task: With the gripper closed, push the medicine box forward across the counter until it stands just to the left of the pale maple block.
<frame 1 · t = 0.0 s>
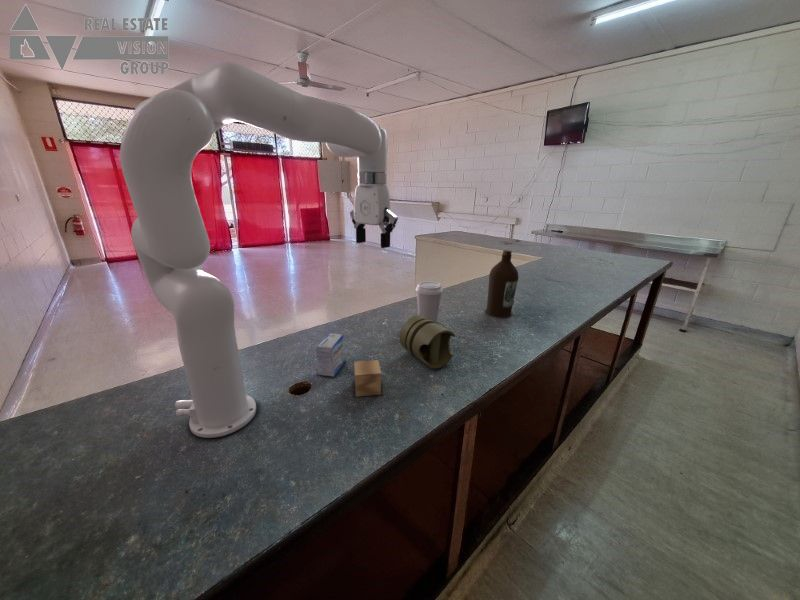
hand: (372, 244, 89), 31 cm above the counter, tool pointing down, fingers open, 9 cm apart
medicine box: (332, 368, 86), on the counter
coffee cup: (427, 324, 114), on the counter
maple block: (367, 388, 78), on the counter
piston: (426, 358, 92), on the counter
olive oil: (498, 313, 126), on the counter
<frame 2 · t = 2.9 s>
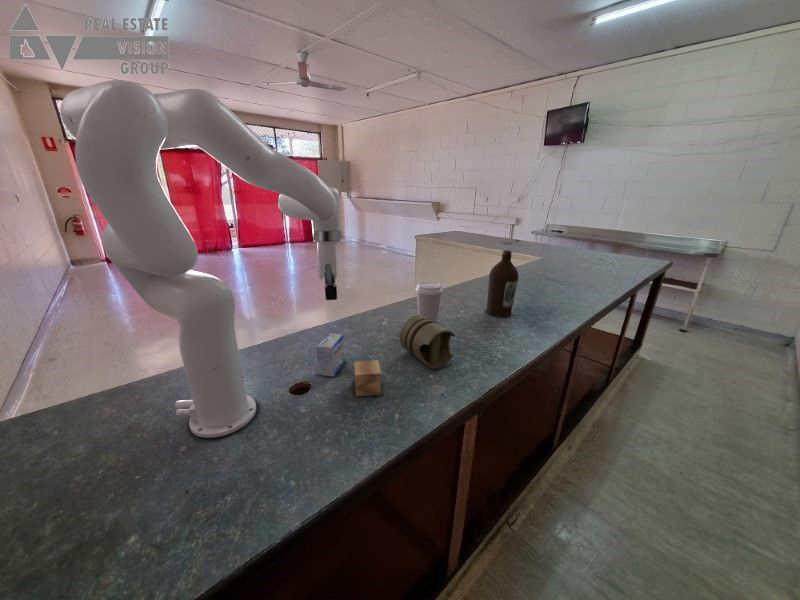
hand: (331, 298, 92), 16 cm above the counter, tool pointing down, fingers closed
nothing on the counter moved.
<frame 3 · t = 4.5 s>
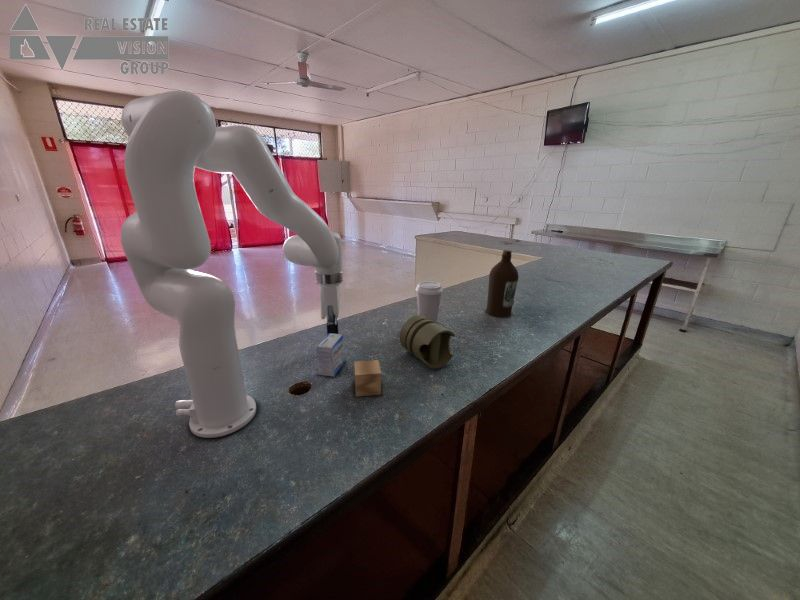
hand: (333, 335, 95), 4 cm above the counter, tool pointing down, fingers closed
nothing on the counter moved.
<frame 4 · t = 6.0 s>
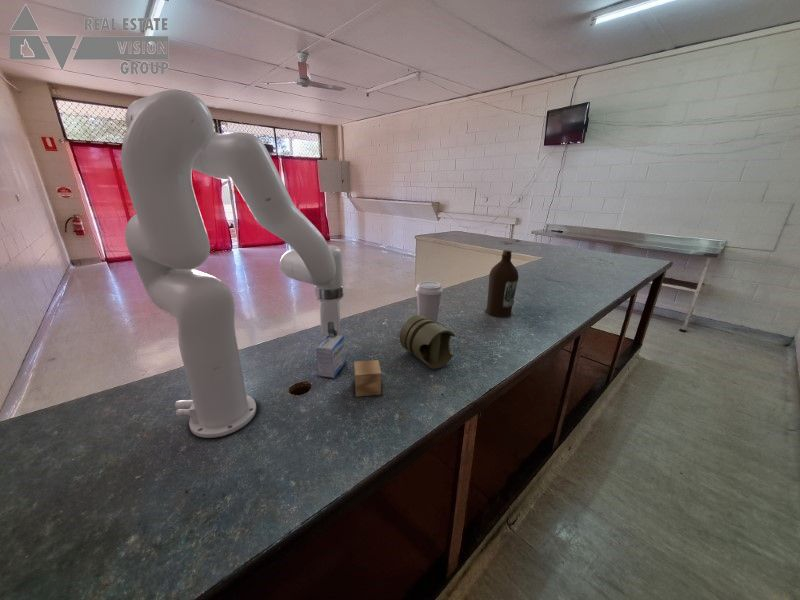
hand: (333, 350, 92), 1 cm above the counter, tool pointing down, fingers closed
medicine box: (332, 369, 86), on the counter, touching gripper
everything else where it was.
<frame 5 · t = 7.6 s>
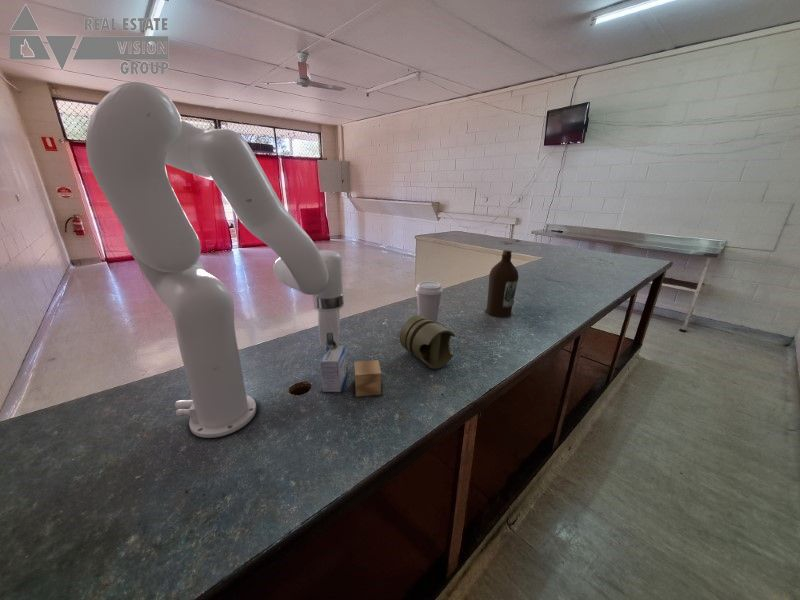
hand: (332, 362, 86), 1 cm above the counter, tool pointing down, fingers closed
medicine box: (334, 383, 80), on the counter, touching gripper
everything else where it was.
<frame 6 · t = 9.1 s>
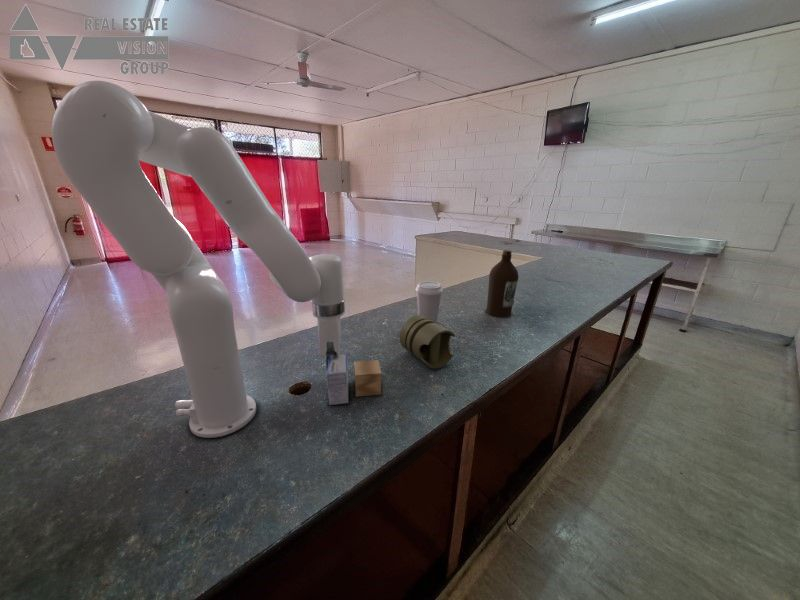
hand: (333, 372, 81), 2 cm above the counter, tool pointing down, fingers closed
medicine box: (339, 394, 76), on the counter, touching gripper
everything else where it was.
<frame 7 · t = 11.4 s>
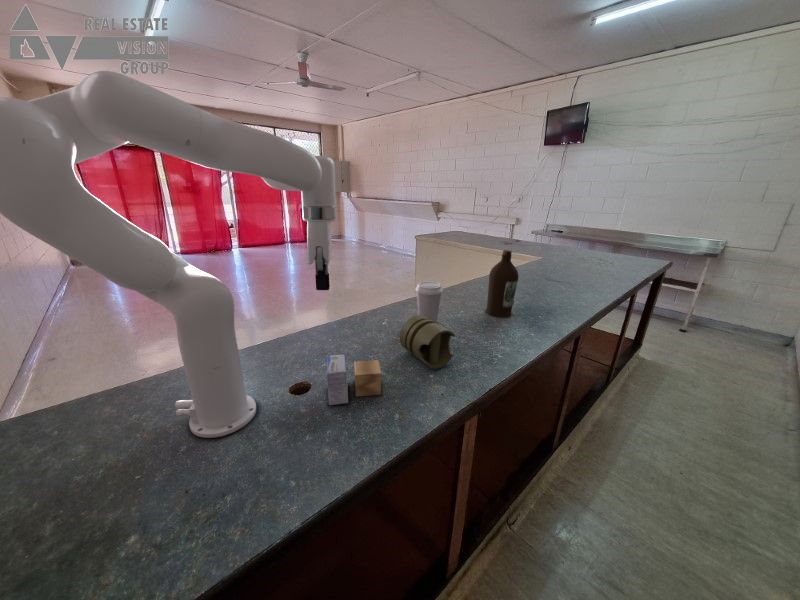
hand: (322, 289, 79), 22 cm above the counter, tool pointing down, fingers closed
medicine box: (338, 395, 76), on the counter
everything else where it was.
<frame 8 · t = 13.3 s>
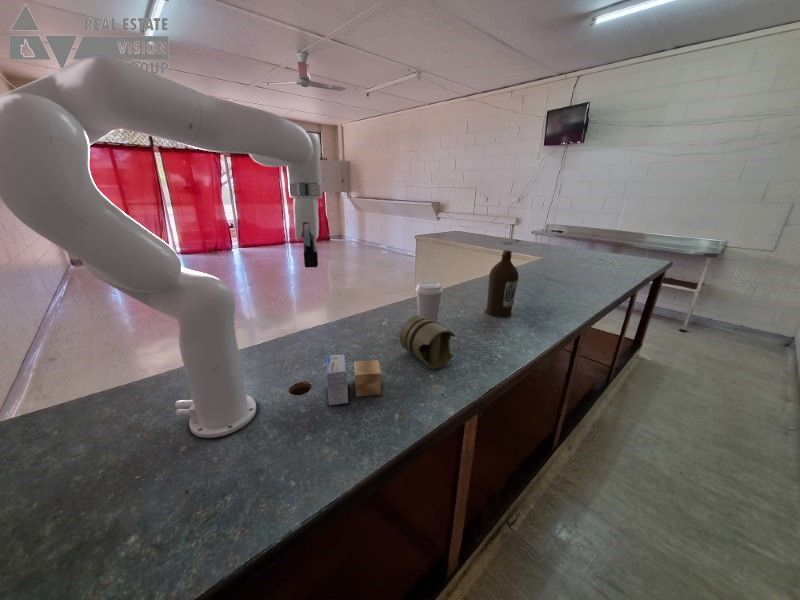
hand: (311, 266, 81), 27 cm above the counter, tool pointing down, fingers closed
nothing on the counter moved.
at the end: medicine box inside the target area on the counter beside the maple block (2.5 cm from its centre), on the counter; medicine box tilted 0°; maple block moved 0.0 cm from its start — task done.
